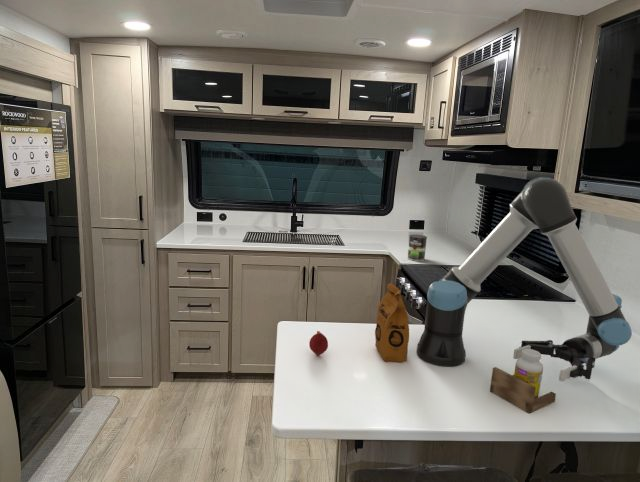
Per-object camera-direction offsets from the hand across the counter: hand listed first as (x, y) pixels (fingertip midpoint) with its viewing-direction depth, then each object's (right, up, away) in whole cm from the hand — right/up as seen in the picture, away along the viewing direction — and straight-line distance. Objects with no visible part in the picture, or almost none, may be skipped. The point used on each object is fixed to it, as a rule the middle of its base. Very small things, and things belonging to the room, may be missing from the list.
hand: (536, 364), depth 122 cm
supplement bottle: (-3, -9, 0) cm, 9 cm away
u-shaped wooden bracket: (-4, -9, 0) cm, 9 cm away
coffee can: (-1, +22, +150) cm, 152 cm away
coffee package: (-36, -3, +22) cm, 42 cm away
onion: (-59, -2, +19) cm, 62 cm away
